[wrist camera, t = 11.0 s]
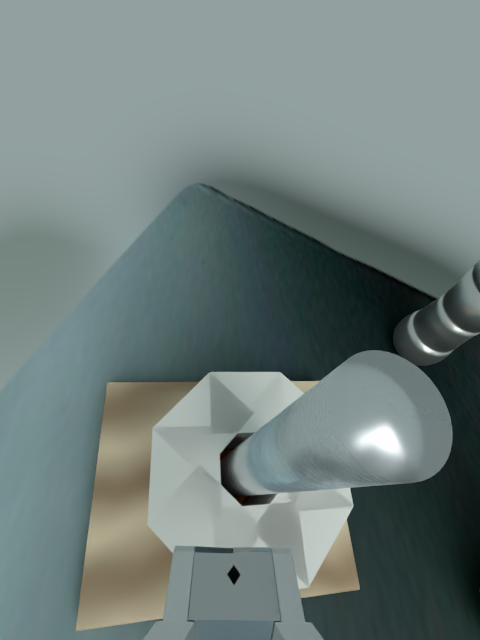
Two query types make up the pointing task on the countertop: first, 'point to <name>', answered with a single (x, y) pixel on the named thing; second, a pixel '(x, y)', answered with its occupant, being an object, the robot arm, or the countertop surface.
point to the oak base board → (132, 515)
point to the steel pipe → (347, 433)
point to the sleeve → (205, 478)
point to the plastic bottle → (441, 323)
